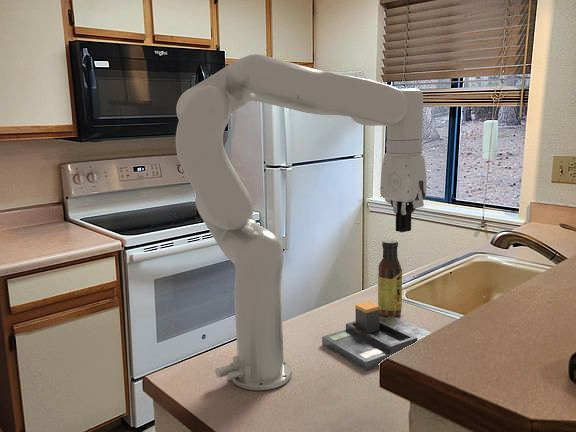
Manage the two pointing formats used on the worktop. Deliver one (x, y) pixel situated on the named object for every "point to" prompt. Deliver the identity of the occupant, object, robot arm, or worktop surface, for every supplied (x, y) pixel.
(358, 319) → the toggle
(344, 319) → the worktop surface
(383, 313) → the sauce bottle
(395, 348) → the panel
